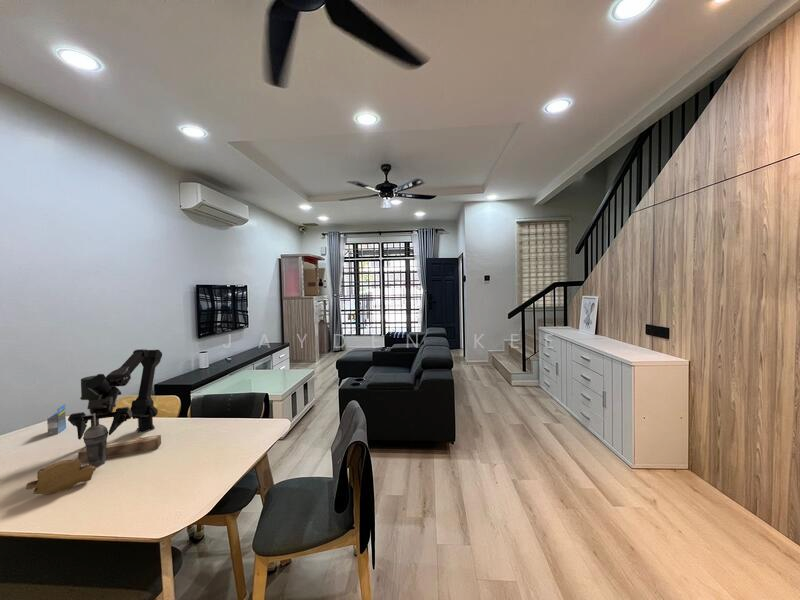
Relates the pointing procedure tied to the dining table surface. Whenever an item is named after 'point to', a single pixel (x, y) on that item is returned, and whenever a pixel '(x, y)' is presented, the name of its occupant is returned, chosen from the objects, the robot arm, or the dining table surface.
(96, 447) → the beverage cup
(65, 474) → the wooden carving
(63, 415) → the label tape cartridge
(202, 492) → the dining table surface
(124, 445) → the slotted wooden bar
